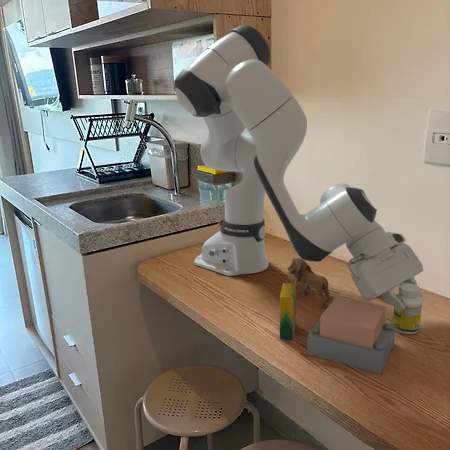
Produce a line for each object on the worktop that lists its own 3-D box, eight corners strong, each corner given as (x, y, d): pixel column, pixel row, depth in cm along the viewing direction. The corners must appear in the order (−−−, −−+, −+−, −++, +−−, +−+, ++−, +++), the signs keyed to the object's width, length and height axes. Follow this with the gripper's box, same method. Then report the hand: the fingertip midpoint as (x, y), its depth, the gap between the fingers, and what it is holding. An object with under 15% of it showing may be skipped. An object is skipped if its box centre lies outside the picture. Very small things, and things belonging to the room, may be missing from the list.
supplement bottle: (389, 321, 98) (393, 280, 96) (415, 323, 98) (420, 282, 95) (394, 334, 93) (399, 291, 91) (421, 336, 92) (427, 293, 90)
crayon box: (282, 322, 99) (283, 274, 96) (295, 323, 98) (297, 275, 95) (278, 339, 92) (279, 288, 89) (293, 341, 92) (294, 289, 88)
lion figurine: (283, 291, 115) (284, 258, 112) (297, 286, 118) (298, 254, 115) (329, 311, 104) (331, 276, 101) (343, 305, 107) (345, 270, 104)
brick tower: (307, 353, 87) (308, 316, 85) (327, 326, 97) (328, 292, 95) (380, 374, 80) (384, 334, 78) (393, 343, 90) (397, 307, 88)
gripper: (355, 253, 89) (396, 315, 85) (406, 232, 102) (444, 284, 97) (335, 268, 93) (373, 327, 89) (386, 246, 106) (422, 296, 102)
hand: (410, 304), depth 93 cm, fingers closed on supplement bottle, 5 cm apart
